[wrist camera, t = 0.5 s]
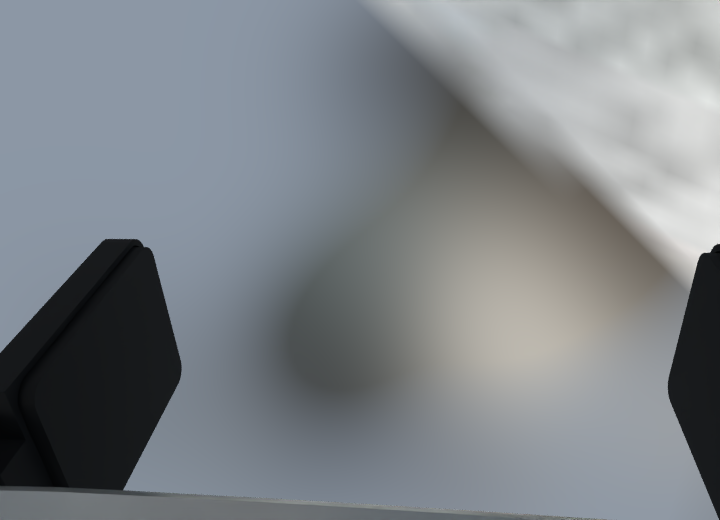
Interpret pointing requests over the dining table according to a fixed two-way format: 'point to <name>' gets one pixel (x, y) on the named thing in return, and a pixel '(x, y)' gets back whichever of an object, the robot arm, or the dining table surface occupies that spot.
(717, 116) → the dining table surface
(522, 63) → the dining table surface
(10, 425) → the robot arm
